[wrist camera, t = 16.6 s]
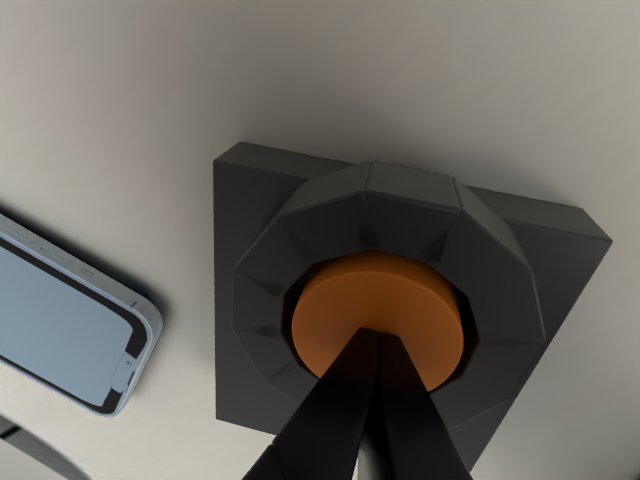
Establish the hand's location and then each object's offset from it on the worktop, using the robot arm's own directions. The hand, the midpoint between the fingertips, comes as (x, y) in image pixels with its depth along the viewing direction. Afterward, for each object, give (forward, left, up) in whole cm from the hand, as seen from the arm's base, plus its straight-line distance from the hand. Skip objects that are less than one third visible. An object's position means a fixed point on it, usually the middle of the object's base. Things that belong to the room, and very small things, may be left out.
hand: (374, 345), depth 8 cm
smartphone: (-4, +15, -4) cm, 16 cm away
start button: (0, 0, -2) cm, 2 cm away
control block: (-2, 0, -4) cm, 4 cm away
